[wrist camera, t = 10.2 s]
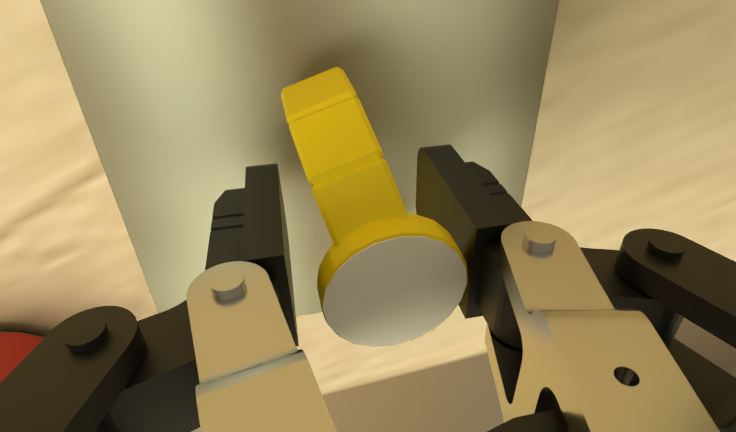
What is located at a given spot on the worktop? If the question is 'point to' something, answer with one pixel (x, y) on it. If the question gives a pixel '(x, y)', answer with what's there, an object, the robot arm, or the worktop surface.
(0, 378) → the beer can
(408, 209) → the block
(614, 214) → the worktop surface
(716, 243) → the worktop surface
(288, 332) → the robot arm
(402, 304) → the watch
